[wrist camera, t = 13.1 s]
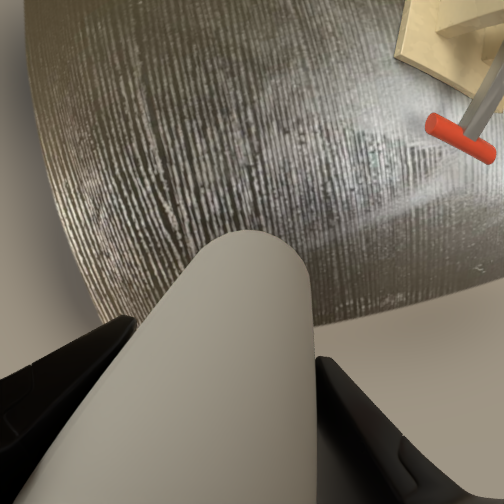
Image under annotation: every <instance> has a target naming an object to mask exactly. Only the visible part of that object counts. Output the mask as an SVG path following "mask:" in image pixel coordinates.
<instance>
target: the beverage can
mask: <svg viewBox="0 0 504 504" xmlns="http://www.w3.org/2000/svg"><path fill="white" fill-rule="evenodd" d="M314 353H315V352H314V332H313V315H312V300H311V287H310V278H309V274H308V272H307V269H306V267H305V264H304V262H303V260H302V259H301V258H300V257H299V255H298V254H297V253H296V252H295V250H294V249H293V248H292V247H290V246H289V245H288V244H286V243H285V242H284V241H282V240H281V239H280V238H278V237H275V236H273V235H270V234H268V233H265V232H263V231H254V230H241V231H236V232H231V233H227V234H225V235H223V236H221V237H219V238H217V239H214V240H213V241H211V242H210V243H209V244H207V245H206V246H205V247H203V248H202V249H201V250H200V251H199V252H198V254H197V255H196V256H195V257H194V259H193V260H192V261H191V262H190V263H189V265H188V266H187V267H186V268H185V270H184V271H183V272H182V273H181V275H180V276H179V277H178V278H177V280H176V281H175V282H174V284H173V285H172V286H171V287H170V289H169V290H168V291H167V292H166V294H165V295H164V296H163V297H162V299H161V300H160V301H159V303H158V304H157V305H156V306H155V308H154V309H153V310H152V311H151V313H150V314H149V315H148V317H147V318H146V319H145V320H144V322H143V323H142V324H141V326H140V327H139V328H138V329H137V331H136V332H135V333H134V334H133V336H132V337H131V338H130V340H129V341H128V342H127V343H126V345H125V346H124V347H123V349H122V350H121V351H120V352H119V354H118V355H117V356H116V358H115V359H114V360H113V361H112V363H111V364H110V365H109V367H108V368H107V369H106V371H105V372H104V373H103V375H102V376H101V377H100V379H99V380H98V381H97V382H96V384H95V385H94V386H93V388H92V389H91V390H90V392H89V393H88V394H87V396H86V397H85V398H84V400H83V401H82V403H81V404H80V405H79V407H78V408H77V409H76V411H75V412H74V414H73V415H72V416H71V418H70V419H69V420H68V422H67V423H66V425H65V426H64V427H63V429H62V430H61V432H60V433H59V435H58V436H57V437H56V439H55V440H54V442H53V443H52V445H51V446H50V447H49V449H48V450H47V452H46V453H45V455H44V456H43V458H42V459H41V461H40V462H39V464H38V465H37V467H36V468H35V470H34V471H33V473H32V474H31V476H30V477H29V479H28V480H27V482H26V483H25V485H24V486H23V488H22V489H21V491H20V493H19V494H18V496H17V497H16V499H15V501H14V503H13V504H317V408H316V375H315V354H314Z"/></svg>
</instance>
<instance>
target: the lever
mask: <svg viewBox="0 0 504 504" xmlns="http://www.w3.org/2000/svg"><path fill="white" fill-rule="evenodd" d="M503 96H504V40H503V42H502V44H501V46H500V48H499V50H498V52H497V54H496V56H495V58H494V60H493V62H492V64H491V66H490V68H489V70H488V72H487V74H486V76H485V78H484V80H483V82H482V83H481V85H480V87H479V89H478V91H477V93H476V94H475V96H474V98H473V100H472V102H471V103H470V105H469V107H468V109H467V110H466V112H465V114H464V115H463V117H462V119H461V121H460V122H459V124H458V125H457V124H455V123H453V122H452V121H450V120H448V119H446V118H444V117H442V116H440V115H438V114H436V113H431V114H430V115H429V116H428V118H427V120H426V123H425V131H426V132H427V133H428V134H429V135H432V136H434V137H436V138H438V139H440V140H442V141H444V142H446V143H448V144H450V145H452V146H454V147H456V148H458V149H459V150H461V151H463V152H465V153H467V154H469V155H471V156H472V157H474V158H476V159H478V160H480V161H481V162H483V163H485V164H487V165H490V164H492V163H493V162H494V160H495V158H496V149H495V147H494V146H493V145H491V144H489V143H488V142H486V141H485V140H483V139H481V138H480V137H479V136H480V134H481V133H482V131H483V130H484V128H485V126H486V125H487V123H488V121H489V120H490V118H491V116H492V115H493V113H494V111H495V110H496V108H497V106H498V105H499V103H500V101H501V100H502V98H503Z"/></svg>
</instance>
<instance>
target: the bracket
mask: <svg viewBox="0 0 504 504" xmlns="http://www.w3.org/2000/svg"><path fill="white" fill-rule="evenodd" d="M503 40H504V0H405V5H404V10H403V15H402V20H401V25H400V30H399V35H398V40H397V44H396V49H395V53H394V58H396V59H398V60H400V61H403V62H405V63H407V64H409V65H411V66H413V67H415V68H417V69H419V70H421V71H423V72H425V73H427V74H429V75H431V76H433V77H435V78H437V79H439V80H440V81H442V82H444V83H446V84H448V85H450V86H451V87H453V88H455V89H456V90H458V91H460V92H462V93H463V94H465V95H467V96H468V97H470V98H471V99H473V98H474V96H475V94H476V93H477V91H478V89H479V87H480V85H481V83H482V82H483V80H484V78H485V76H486V74H487V72H488V70H489V68H490V66H491V64H492V62H493V60H494V58H495V56H496V54H497V52H498V50H499V48H500V46H501V44H502V42H503ZM503 109H504V96H503V98H502V100H501V101H500V103H499V105H498V106H497V108H496V110H495V111H494V113H503Z"/></svg>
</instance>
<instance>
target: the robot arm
mask: <svg viewBox="0 0 504 504" xmlns="http://www.w3.org/2000/svg"><path fill="white" fill-rule="evenodd" d="M136 329H137V321H136V319H135V318H134V317H131V316H127V315H120V316H118V317H117V318H115V319H113V320H111V321H109V322H107V323H105V324H104V325H102V326H100V327H98V328H96V329H94V330H92V331H91V332H89V333H87V334H85V335H83V336H81V337H80V338H78V339H76V340H74V341H72V342H70V343H69V344H67V345H65V346H63V347H61V348H60V349H58V350H56V351H54V352H52V353H50V354H48V355H47V356H44V357H43V358H41V359H39V360H37V361H35V362H33V363H32V366H31V365H28V366H26V367H24V368H22V369H20V370H19V371H17V372H15V373H13V374H11V375H9V376H7V377H5V378H3V379H0V504H13V503H14V501H15V499H16V497H17V496H18V494H19V493H20V491H21V489H22V488H23V486H24V485H25V483H26V482H27V480H28V479H29V477H30V476H31V474H32V473H33V471H34V470H35V468H36V467H37V465H38V464H39V462H40V461H41V459H42V458H43V456H44V455H45V453H46V452H47V450H48V449H49V447H50V446H51V445H52V443H53V442H54V440H55V439H56V437H57V436H58V435H59V433H60V432H61V430H62V429H63V427H64V426H65V425H66V423H67V422H68V420H69V419H70V418H71V416H72V415H73V414H74V412H75V411H76V409H77V408H78V407H79V405H80V404H81V403H82V401H83V400H84V398H85V397H86V396H87V394H88V393H89V392H90V390H91V389H92V388H93V386H94V385H95V384H96V382H97V381H98V380H99V379H100V377H101V376H102V375H103V373H104V372H105V371H106V369H107V368H108V367H109V365H110V364H111V363H112V361H113V360H114V359H115V358H116V356H117V355H118V354H119V352H120V351H121V350H122V349H123V347H124V346H125V345H126V343H127V342H128V341H129V340H130V338H131V337H132V336H133V334H134V333H135V332H136ZM315 375H316V408H317V504H504V499H493V498H484V497H478V496H475V495H472V494H470V493H468V492H466V491H465V490H464V489H462V488H461V487H460V486H458V485H457V484H456V483H455V482H454V481H453V480H451V479H450V478H449V477H448V476H447V475H445V474H444V473H443V472H442V471H441V470H439V469H438V468H437V467H436V466H435V465H434V464H433V463H432V462H430V461H429V460H428V459H427V458H426V457H425V456H424V455H423V454H422V453H421V452H420V451H419V450H418V449H417V448H416V447H415V446H414V445H413V444H412V443H411V442H410V441H409V440H408V439H407V438H406V437H405V436H402V435H403V434H402V433H401V432H400V431H399V430H398V429H397V428H396V427H395V425H394V424H393V423H392V422H391V421H390V420H389V419H388V418H387V417H386V416H385V415H384V414H383V413H382V411H381V410H380V409H379V408H378V407H377V406H376V405H375V404H374V403H373V402H372V401H371V400H370V399H369V398H368V397H367V396H366V394H365V393H364V392H363V391H362V390H361V389H360V388H359V387H358V386H357V385H356V384H355V383H354V381H353V380H352V379H351V378H350V377H349V376H348V375H347V374H346V373H345V372H344V371H343V370H342V369H341V368H340V366H339V365H338V364H337V363H336V362H335V361H334V360H333V359H332V358H330V357H323V356H318V357H317V358H316V359H315Z"/></svg>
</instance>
